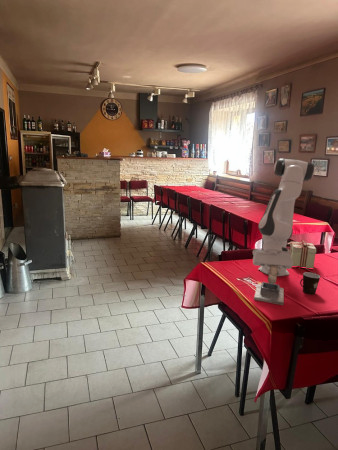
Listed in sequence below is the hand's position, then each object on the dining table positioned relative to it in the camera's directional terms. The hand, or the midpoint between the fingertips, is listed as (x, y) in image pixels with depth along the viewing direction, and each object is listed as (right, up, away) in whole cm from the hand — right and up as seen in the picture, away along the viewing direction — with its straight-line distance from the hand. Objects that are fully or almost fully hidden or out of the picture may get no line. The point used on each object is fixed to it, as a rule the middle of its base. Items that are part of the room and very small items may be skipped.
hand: (273, 273), depth 172 cm
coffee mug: (+21, -12, +11) cm, 27 cm away
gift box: (+35, -3, +58) cm, 68 cm away
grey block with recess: (-1, -12, +3) cm, 12 cm away
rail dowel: (0, -5, +2) cm, 5 cm away
